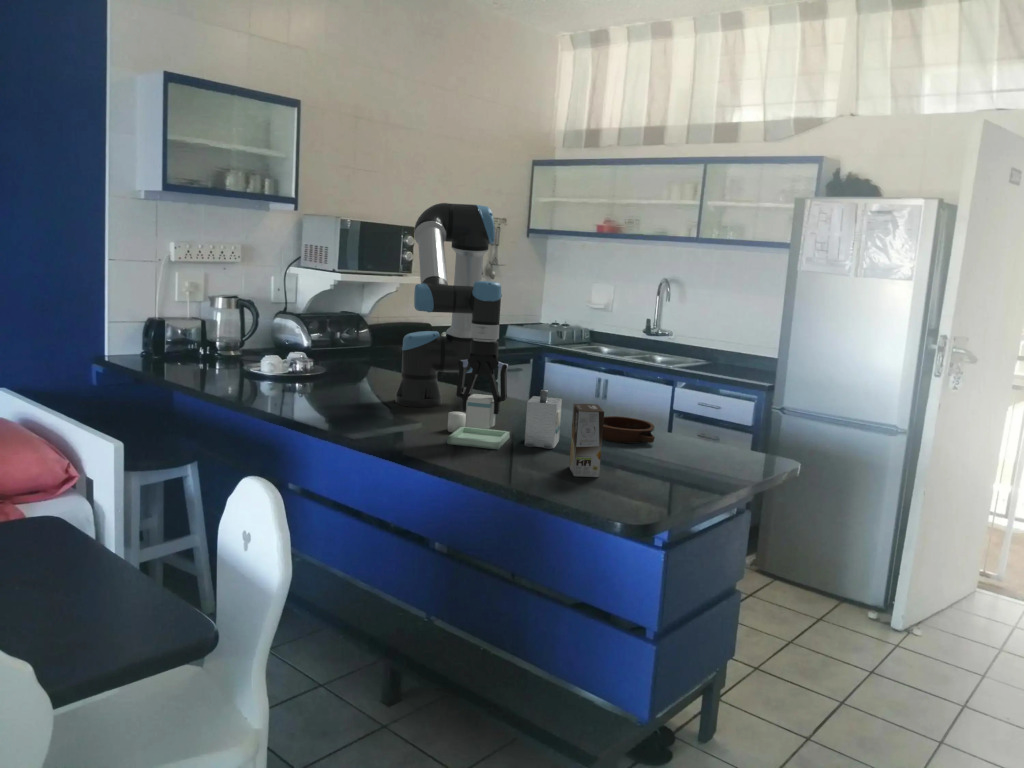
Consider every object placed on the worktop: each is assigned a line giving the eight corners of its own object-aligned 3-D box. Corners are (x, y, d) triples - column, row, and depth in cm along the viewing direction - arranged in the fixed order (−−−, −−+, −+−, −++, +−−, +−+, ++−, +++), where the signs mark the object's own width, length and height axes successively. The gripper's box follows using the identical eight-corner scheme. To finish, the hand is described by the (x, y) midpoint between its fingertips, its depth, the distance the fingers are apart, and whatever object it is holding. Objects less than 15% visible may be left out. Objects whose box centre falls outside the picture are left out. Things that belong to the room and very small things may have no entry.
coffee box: (600, 477, 197) (605, 411, 194) (573, 476, 196) (578, 410, 193) (593, 467, 206) (598, 403, 203) (567, 466, 205) (572, 402, 202)
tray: (447, 443, 220) (447, 437, 220) (461, 432, 233) (461, 426, 233) (498, 449, 217) (498, 442, 217) (509, 437, 231) (510, 431, 230)
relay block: (466, 426, 222) (467, 397, 221) (472, 422, 228) (473, 393, 227) (488, 428, 221) (490, 399, 220) (493, 424, 227) (495, 395, 225)
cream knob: (445, 431, 234) (446, 414, 233) (450, 427, 239) (451, 411, 238) (462, 433, 233) (463, 416, 232) (467, 429, 238) (468, 412, 237)
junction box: (523, 446, 222) (527, 391, 220) (531, 437, 233) (534, 384, 230) (554, 449, 221) (558, 394, 218) (560, 440, 231) (564, 387, 229)
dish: (631, 451, 225) (633, 433, 224) (572, 434, 240) (574, 417, 240) (671, 443, 236) (672, 426, 235) (612, 428, 252) (613, 412, 251)
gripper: (446, 338, 219) (442, 423, 223) (516, 344, 215) (511, 430, 219) (454, 335, 226) (450, 418, 230) (522, 341, 222) (517, 425, 226)
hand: (480, 424), depth 224 cm, fingers closed on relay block, 6 cm apart
